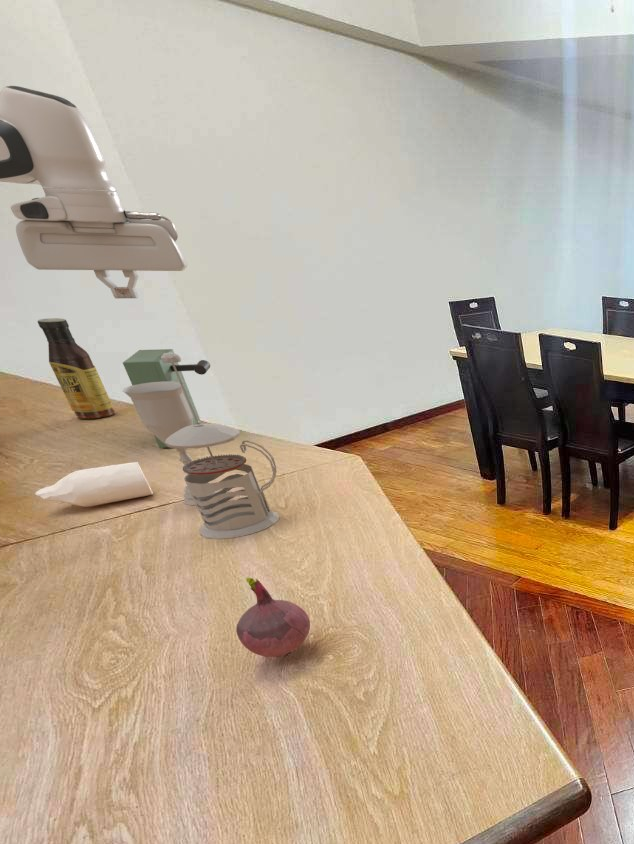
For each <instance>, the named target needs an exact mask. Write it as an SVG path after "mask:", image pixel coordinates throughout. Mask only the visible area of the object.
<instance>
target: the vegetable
mask: <svg viewBox="0 0 634 844" xmlns="http://www.w3.org/2000/svg"><path fill="white" fill-rule="evenodd" d="M245 581H246V582H247V584H248V585H249V587H250V590H251V591H252V592H253V593H254V595H255V597H256V603H255V604H254V605H252V606H251V607H249V608H248V609H246V611H245V612H244V613H243V614H242V615H241V617H240V618H239V620H238V621H237V624H236V630H235V631H236V635H237V639H238V640H239V642H240V644H242V645H243V647H244V648H245V649H247V650H248V651H249V652H251V653H253V654H255V655H257V656H261V657H264V658H282V657H283V658H286V657H289V656H290V655H291V654H292V653H293V652H294V651H295V650H297V649H298V648H299V647H301V646H302V645H303V644H304V642H305V641H306V640H307V638H308V636H309V633H310V630H311V620H310V617H309V615H308V613H307V612H306V610H304V609H303V608H302V607H301V606H300V605H299V604H296V603H294V602H291V601H289V600H283V599H274V598H273V597H272V595H271V594H270V593H269V591H268V590H267V589H266V587H265V586H264V584H262V583H261V582H260V580H259V579H258V578H255V580H254V578H252V577H246V578H245Z"/></svg>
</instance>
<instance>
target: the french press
mask: <svg viewBox="0 0 634 844" xmlns="http://www.w3.org/2000/svg"><path fill="white" fill-rule="evenodd" d="M161 359H162V361H163V363H172V365H173V367H174V370H175V372H176V375H177V377H178V379H179V382H180V384H181V387H182V389H183V391H184V394H185V396H186V398H187V401H188V403H189V406H190V408H191V410H192V413H193V415H194V417H195V420H196V422H197V424H195V425H191V426H186V427H184V428H182V429H180V430H178V431H177V432H175V433H174V434H172V435H171V436H169V437H168V438H167V439H166V442H165V443H166V444H168V445H169V446H171V447H173V448H172V449H176V448H181V449H186V450H188V449H189V450H190V449H202V448H207V450H208V454H209V456H206V457H205V456H204V457H201V458H198V459H194V460H192V462H191V463H190V462H188V463H187V464H186V465H183V466H182V471H183V472H184V471H185V472H187V473H189V474H187V473H186V475H185V476H184V481H185V485H186V486H188V488H189V490H190V493H191V495H192V497H193V499H194V501H195V504H196V505H195V506H196V508H197V511H198V512H199V515H200V518H201V519H202V521H203V523H202V525H200V527H199V529H198V535H200V536H202V537H204V538H206V539H214V540H215V539H216V540H221V539H233V538H234V539H235V538H238V537H243V536H249V535H252V534H255V533H259V532H261V531H264V530H266V529H268V528H269V527H271V526H273V525H275V524H276V523H277V522H278V521H279V519H280V514H279V513H278V512H276V511H274V510H271V508H270V506H269V504H268V501H267V498H266V496H265V492H264V491H265V490H267V489H268V488H270V487H271V486H272V484H274V482H275V479H276V476H277V465H276V461H275V458H274V456H273V455H272V454H271V452H270V451H268V449H266V448H265V447H264V446H263V445H262V444H261V445H260V444H259V443H257V442H253V441H250V440H242V442H241V444H240V445H239V449H240V451H241V453H243V454H246V452H247V447H248V448H252V449H254V450H256V451H258V452H260V453H261V454H262V455H263V456H264V457H265V458H266V459H267V460H268V462H269V464H270V468H271V470H272V477H271V479H270V480H269V481H267V482H266V483H264V484H262V485H261V486H260V485H259V481H258V480H257V477H256V474H255V472H254V469H253V467H252V465H249V464H246V463H247V457H245V456H243V455H241V454H230V453H229V454H220V455H219V454H218V455H213V453H212V451H211V448H210V447H215V446H220V445H223V444H226V443H230V442H232V441H235V440H236V439H238V437H239V436H240V430H239V429H237V428H235V427H231V426H228V425H225V424H221V423H216V422H215V423H212V422H211V423H202V422H201V423H199V422H198V420H197V417H196V415H195V412H194V410H193V408H192V405H191V403H190V400H189V398H188V396H187V393H186V391H185V389H184V386H183V384H182V381H181V379H180V377H179V374H178V372H177V369H176V367H175V365H174V363H176V362H178V363H180V362H182V359H181V357H180V356H179V354H177V353H175V352H174V353H164V354H163V355H162V356H161ZM247 443H249V444H247ZM250 444H252V445H250ZM254 445H255V446H256V447H255V446H254ZM258 447H259V448H261V449H262V450H261V449H259V448H258ZM231 471H232V472H233V471H240V472H245V474H241V473H235V474H231V475H228V476H225V477H224V478H223V479H221V480H220V481H218V482H213V481H215V480H217V479H218V478H219V477H221V476H223V475H224V474H226V473H229V472H231ZM185 472H184V473H185ZM236 488H243V489H239V490H235V491H231V490H232V489H236ZM215 491H219V492H217V493H215V494H213V495H210V496H207V495H209V494H211V493H213V492H215ZM240 496H241V497H240ZM242 496H243V497H242ZM235 497H239V498H237V499H233V498H235Z"/></svg>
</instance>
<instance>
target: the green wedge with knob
mask: <svg viewBox="0 0 634 844" xmlns="http://www.w3.org/2000/svg"><path fill="white" fill-rule="evenodd" d="M164 353H175V351H174V349H173V348H167V349H165V348H164V349H162V348H161V349H139V350H138V351H136V352H135V353H134V354H132V355H130V356H129V357H127V359H126V360H124V361H122V365H123V367H124V369H125V372H126V374H127V376H128V379H129V381H130V383H131V386H133V385H137V384H143V383H151V382H179V379H178V377H177V375H176V372H175V370H174V367H173V365H172V363H163V361H162V359H161V356H162V355H163V354H164ZM174 365H175V367H176V369H177V372H178V374H179V377H180V379H181V381H182V383H183V384H184V389H185V391H186V393H187V396H188V398H189V400H190V403H191V405H192V408H193V410H194V412H195V415H196V417H197V420H198V421H201V418H200V415H199V413H198V410H197V408H196V406H195V403H194V399H193V398H192V395H191V393H190V390H189V387H188V385H187V382H186V379H185V377H184V374H183V372H195V373H196V374H198V375H201V376H202V375H205V374H206V373H207V372H208V371H209V369H210V368H211V363H210V362H209V361H208V360H206V359H201V360H199V361H198V362H197V363H196V364H194V363H193V364H179V362H176V363H174ZM183 394H184V391H183ZM184 396H185V394H184ZM185 399H186V401H187V398H186V396H185ZM187 404H188V406H189V403H188V401H187ZM189 408H190V406H189ZM190 411H191V413H192V410H191V408H190ZM192 415H193V413H192ZM199 423H202V421H201V422H199ZM195 424H197V422H196V420H195V417H194V415H193V425H195ZM153 436H154V439H155V441H156V443H157V445H158V448H159V449H164V448H169V447H168V446H167V445H165V444H164V443H163V442H162V441H161V440H160V439H158V438H157V437H156V436H155V435H154V434H153Z"/></svg>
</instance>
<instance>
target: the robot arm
mask: <svg viewBox="0 0 634 844" xmlns="http://www.w3.org/2000/svg"><path fill="white" fill-rule="evenodd" d="M105 160H106V159H105V158H104V155H103V152H102V150H101V148H100V146H99V143H98V141H97V139H96V137H95V134H94V132H93V131H92V129H91V127H90V125H89V123H88V121H87V120H86V118H85V116H84V115H83V113H82V112H81V110H80V109H79V108H78V107H77V106H76V105H75V104H74V103H72V102H71V101H70V100H68V99H66V98H65V97H61V96H59V95H54V94H51V93H48V92H43V91H40V90H35V89H31V88H27V87H23V86H18V85H6V86H4V87H3V88H2V89H1V90H0V183H10V184H11V183H12V184H22V185H23V184H25V185H39V186H41V188H42V190H43V192H44V196H43V197H34V198H31V199H30V200H25V201H21V202H16V203H13V204H11V205H10V210H11V213H12V214H13V215H14V217H15V218H17V219H19V220H20V221H19V222H18V223H17V224H16V226H15V233H16V237H17V241H18V243H19V246H20V249H21V251H22V254H23V256H24V258H25V260H26V262H27V263H28V264H29V265H30V266H31V267H33V268H34V269H36V270H45V271H49V270H50V271H51V270H52V271H56V270H57V271H93V272H94V274H95V277H96V278H97V279H98V280H99V281H100V282H101V283H103V284H104V285H105V286H106V287H107V288H108V289H110V291H111V293H112V296H113V298H114V299H117V300H118V299H138V298H139V295H138V292H137V289H136V286H137V282H138V278H139V275H138V272H137V271H139V272H143V271H144V272H148V271H149V272H183V271H184V270H186V268H187V267H188V262H187V259H186V257H185V255H184V253H183V250H182V248H181V247H180V245H179V243H178V237H179V235H178V232H177V229H176V226H175V224H174V223H173V222H172V221H171V219H169V218H168V217H166V216H164V215H161V214H160V213H157V212H139V211H130V210H129V211H128V210H127V211H126V210H125V208H124V205H123V203H122V200H121V198H120V196H119V195H120V194H119V193H118V190H117V188H116V187H115V185H114V184H113V182H112V181H111V180H110V178H109V176H108V173H107V170H106V161H105ZM110 271H121V272H122V274H123V276H124V278H128V282H127V285H126V286H118V285H117V284H115V283H114V281H112V280H111V279H110V278H109V277H111V274H110Z"/></svg>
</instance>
